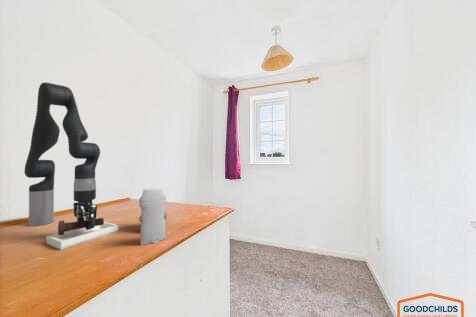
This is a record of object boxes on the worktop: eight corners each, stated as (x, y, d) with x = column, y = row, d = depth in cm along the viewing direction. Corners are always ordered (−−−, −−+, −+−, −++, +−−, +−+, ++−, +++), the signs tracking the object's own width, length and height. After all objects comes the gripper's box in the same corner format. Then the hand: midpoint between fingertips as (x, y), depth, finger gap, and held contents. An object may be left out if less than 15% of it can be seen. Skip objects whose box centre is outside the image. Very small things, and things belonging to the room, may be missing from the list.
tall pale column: (141, 247, 75) (141, 189, 75) (137, 243, 77) (137, 188, 78) (168, 239, 82) (168, 186, 82) (164, 236, 85) (164, 185, 85)
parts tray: (46, 243, 78) (46, 236, 78) (102, 227, 96) (102, 221, 96) (61, 250, 72) (61, 241, 72) (117, 231, 91) (118, 225, 91)
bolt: (103, 229, 89) (58, 238, 78) (101, 222, 92) (57, 229, 81) (105, 219, 87) (59, 227, 76) (103, 212, 90) (59, 218, 79)
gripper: (65, 188, 84) (65, 228, 84) (84, 191, 78) (83, 233, 78) (85, 186, 91) (85, 223, 91) (104, 188, 85) (103, 227, 84)
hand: (84, 227), depth 84 cm, fingers closed on bolt, 6 cm apart
